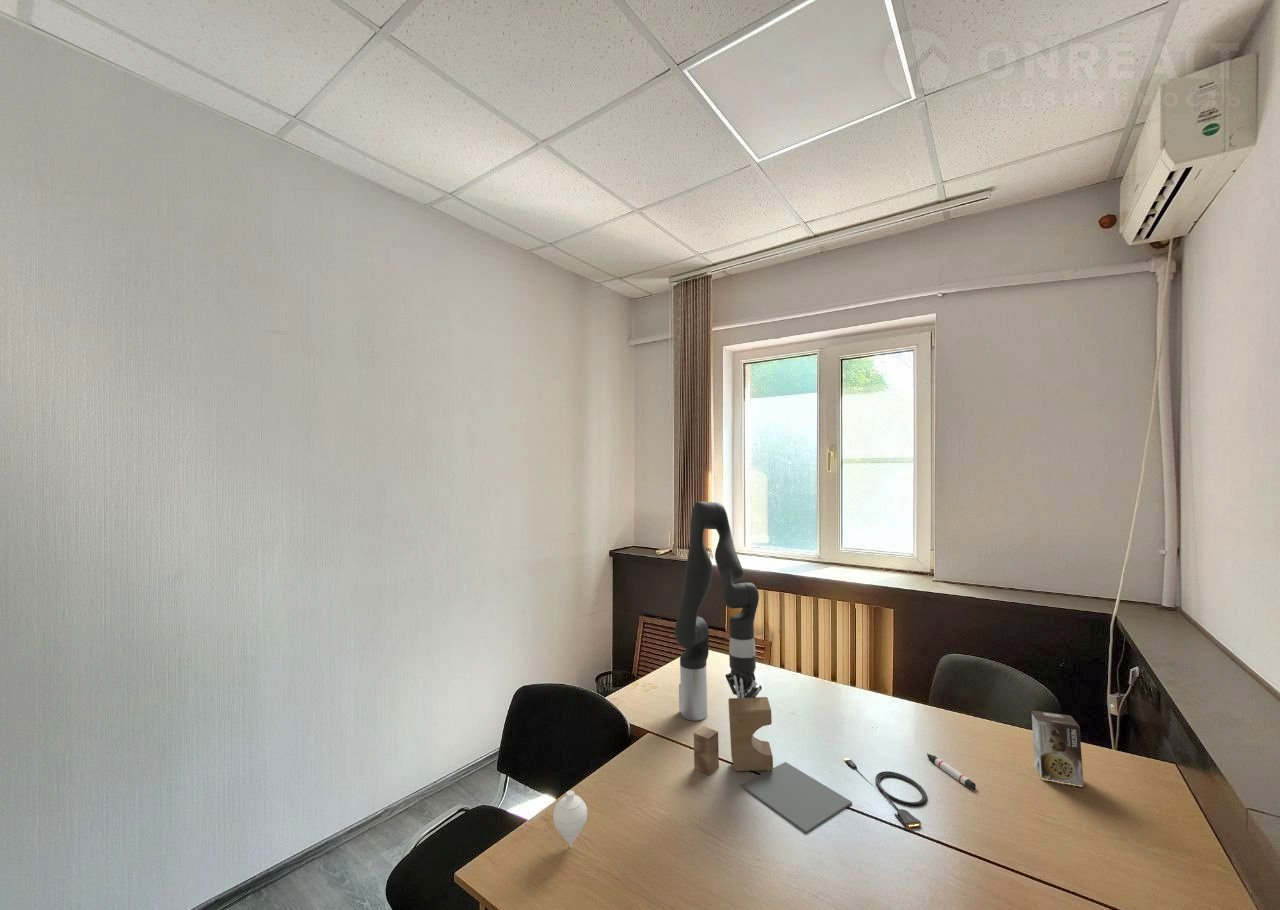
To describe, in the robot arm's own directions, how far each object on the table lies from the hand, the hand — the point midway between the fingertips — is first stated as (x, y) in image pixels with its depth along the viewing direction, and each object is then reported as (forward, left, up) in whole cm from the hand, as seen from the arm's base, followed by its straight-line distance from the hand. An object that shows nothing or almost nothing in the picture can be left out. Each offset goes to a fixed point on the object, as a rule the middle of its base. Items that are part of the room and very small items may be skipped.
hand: (744, 712), depth 142 cm
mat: (+18, 0, -14) cm, 23 cm away
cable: (+31, +24, -15) cm, 42 cm away
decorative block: (+3, 0, -13) cm, 14 cm away
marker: (+36, +43, -15) cm, 58 cm away
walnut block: (-4, -11, -14) cm, 18 cm away
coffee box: (+54, +64, -15) cm, 85 cm away
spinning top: (+1, -56, -14) cm, 58 cm away
